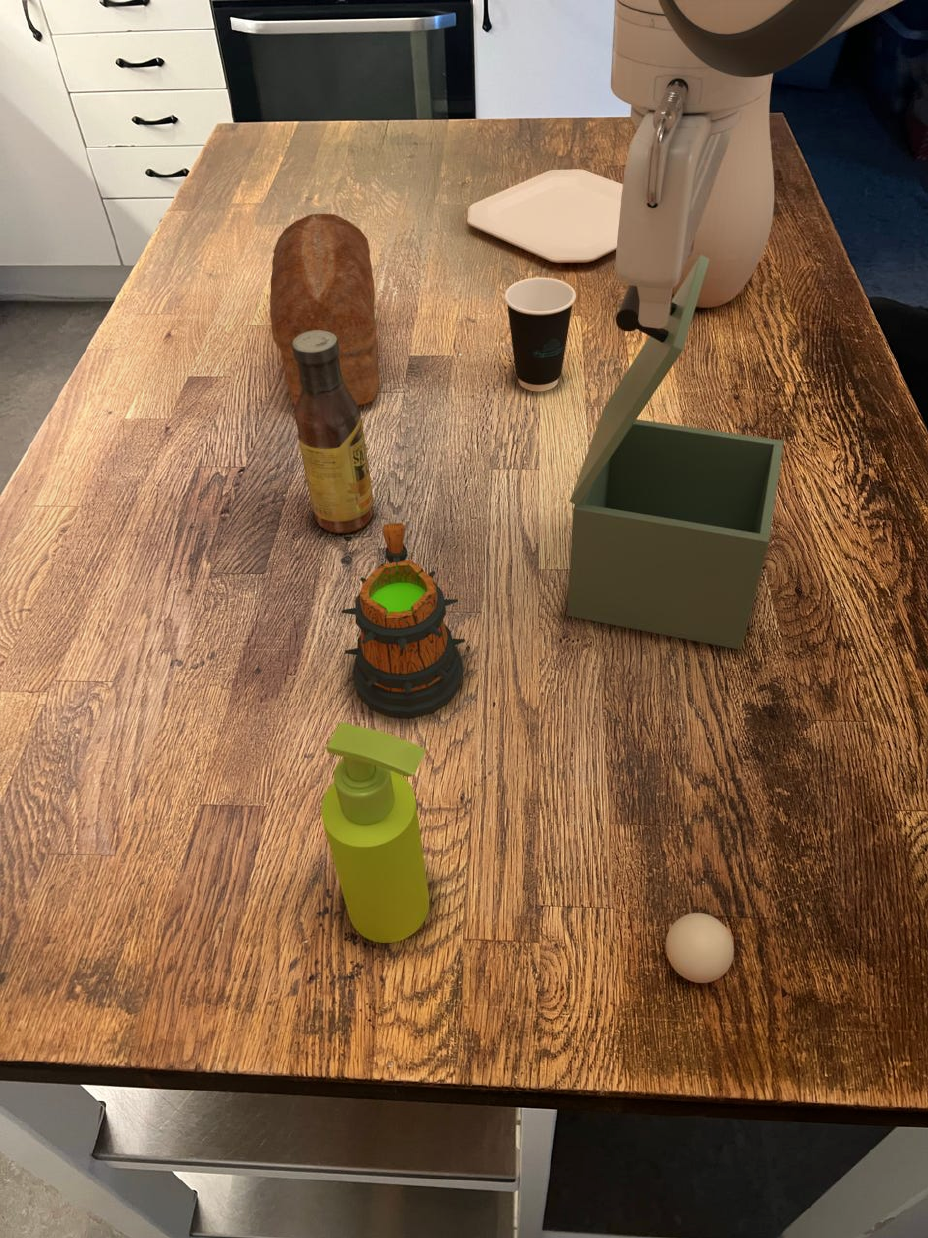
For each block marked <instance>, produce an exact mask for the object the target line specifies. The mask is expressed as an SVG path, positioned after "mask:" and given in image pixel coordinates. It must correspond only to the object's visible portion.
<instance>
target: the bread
mask: <svg viewBox="0 0 928 1238" xmlns="http://www.w3.org/2000/svg"><path fill="white" fill-rule="evenodd" d="M271 264H272V265H271V266H272V268H271V277H270V295H269V315H270V325H271V334H272V335H271V336H272V339H273V342H274V343H275V345H276V347H277V348H278V350H279V352H280V357H281V361H282V366H283V371H284V376H285V377H284V378H285V381H286V382H285V383H286V386H287V389H288V390H287V391H288V394H289V397H290V399H291V401H292V403H293V405H294V406H295V405H296V401H297V400H298V398H299V395H300V393H301V391H302V386H301V384H300V379H301V378H300V373H299V367H298V363H297V361H296V359H295V357H294V353H293V347H292V342H293V340H294V339H295V338H296V337H297V336H299V335H301V334H302V333H305V332H308V331H313V330H322V331H327V332H330V333H332V334H334V335H335V336H336V337H337V340H338V345H339V355H338V358H339V363H340V371H341V374H342V380H343V381H344V383H345V385H346V387H347V389H348V390H349V392H350V394H351V395H352V397H353V399H354V400H355V402H356V404H357V405H358V407H359V406H363V405H366V404H370V403H371V402H372V401H374V399H375V397H376V395H377V394H378V391H379V387H380V370H379V358H378V341H377V325H376V324H377V323H376V315H375V314H376V313H375V300H376V299H375V298H376V297H375V295H376V292H375V291H376V290H375V279H374V274H373V267H372V266H373V265H372V261H371V249H370V245H369V241H368V238H367V236H366V235H365V234H364V233H363V232H362V230H361V229H360V228H359V227H357V226H356V225H355V224H353V223H352V222H350V221H349V220H347V219H345V218H343V217H341V216H340V215H337V214H335V213H312V214H308V215H306V216H304V217H303V218H300V219H298V220H295V221H293V223H291V224H290V225H288V226H287V227H286V228H285V229H284V230H283V231H282V233H281V234H280V236H279V237H278V238H277V240H276V244H275V246H274V249H273V256H272V261H271Z"/></svg>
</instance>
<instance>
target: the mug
mask: <svg viewBox="0 0 928 1238" xmlns="http://www.w3.org/2000/svg"><path fill="white" fill-rule="evenodd" d="M382 534H383V535H382V536H383V538H384V541H385V544H386V549H385V550H384V554H385V559H386V560H387V562H385V563H381V564H380V565H379V566H378V567H377V568H376V569H375V570H374V571H373V572H372V573H371V574H370V575H369V576H368V577H367V578H365V577H362V576H361V577H360V579H359V581H360V582H361V583H362V585H361V590H360V591H359V593H358V595H357V596H356V597H355V599H354V606H355V607H350V608H345V609H341V614H346V615H354V617H355V620H354V621H355V624H356V625H357V627H358V628H359V630H360V635H359V636H358V637H357V640H356V641H357V647H356V648H355V647H354V648H351V649H345V650H344V654H345V655H352V656H356V657H355V660H354V665H353V668H352V673H351V674H352V678H353V683H354V687H355V690H356V693H357V697H359V699H360V700H361V701H362V702H363V703H364V704H365V705H366V706H367V707H368V708H369V709H370V710H372V711H374V712H377V713H379V714H381V715H383V716H387V717H388V718H398V719H399V718H400V719H401V718H402V719H414V718H418V717H422V716H426V715H430V714H434V713H435V712H436V711H438V710H439V709H441V708H442V707H443V708H444V706H445V705H447V704H449V703H451V701H452V700H453V699H454V697H455V695H456V694H457V693H458V691H459V690H460V688H461V687H462V683H463V674H464V662H463V659H462V656H461V654H460V652H459V649H458V647H457V645H460V644H461V645H462V644H463V643H466V639H465V638H453V635H452V630H451V629H450V628H449V627H448V626H447V625H446V624H445V617H446V615H447V608H446V607H448V606H450V605H453V604H457V603H459V599H458V598H448V599H447V598H445V595H444V592H443V590H442V589H441V588H440V587H439V586H438V584H437V582H435V581H434V577H435V575H436V571H435V570H432V571H431V572H429V573H427V572H426V571H425V570H424V569H423V568H422V567H421V566H419V564H416V563H415V562H414V561H412V560H411V559H407V558H408V549H407V547H406V546H405V544H404V543H405V542H404V541H405V536H406V535H405V534H406V527H405V525H404V523H403V522H392V523H385V524H383V526H382Z"/></svg>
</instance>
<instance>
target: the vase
mask: <svg viewBox="0 0 928 1238" xmlns="http://www.w3.org/2000/svg"><path fill="white" fill-rule="evenodd" d="M773 76H774V73H772V74H770V78H769V84H768V88H767V90H766V92H765V93H764V94H763V95H762V96H761V97H760V98H758V99H757V100H755V101H753V102H751V103H749V104H746V105H744V106H742V112H741V119H740V121H739V122H738V123H737V124H736V125H735V126H733V129H732V132H731V136H730V140H729V143H728V147H727V150H726V153H725V156H724V158H723V161H722V163H721V166H720V169H719V171H718V174H717V177H716V180H715V183H714V185H713V188H712V191H711V194H710V197H709V199H708V202H707V205H706V208H705V211H704V213H703V216H702V219H701V222H700V224H699V227H698V230H697V233H696V238H695V246H694V248H693V251H692V253H691V255H690V257H689V258H687V261H686V264H685V266H684V269H683V272H682V275H681V278H680V281H679V283H678V284H677V285H676V286H675V287H674V288H672V292H673V295H674V296H675V295H676V293H677V292H678V290H679V288H680V287H681V285H682V284H683V282H684V281H685V279H686V277H687V276H688V274H689V273H690V271H691V269H692V268H693V266H694V265H695V263H696V262H697V260H698V258H699V257H700V255H702V256H704V257H706V258H708V259H709V263H708V266H707V270H706V273H705V277H704V280H703V283H702V287H701V290H700V294H699V297H698V300H697V304H696V307H695V308H701V309H702V308H703V309H710V308H715V307H716V308H717V307H719V306H723V305H724V304H727V303H728V302H730V301H732V300H733V299H734V298H735V297H736V296H737V295H739V293H740V292H741V291H742V290H743V289H744V288H745V286H746V285H747V283H748V282H749V280H750V279H751V277H752V276H753V274H754V272H755V270H756V269H757V267H758V265H759V263H760V261H761V259H762V258H763V255H764V252H765V250H766V248H767V244H768V241H769V238H770V234H771V230H772V226H773V218H774V210H775V177H774V176H775V175H774V174H775V173H774V165H773V164H774V163H773V153H772V144H771V129H770V128H771V127H770V126H771V125H770V103H771V90H772V83H773Z"/></svg>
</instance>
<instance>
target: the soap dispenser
mask: <svg viewBox="0 0 928 1238" xmlns="http://www.w3.org/2000/svg"><path fill="white" fill-rule="evenodd" d="M325 748H326V753H327V754H330V755H335V756H339V757H342V758H341V759H340V760H339V761H338V762H337V764H336V766H335V768H334V771H333V782H332V783H331V784H330V785H329V786H328V788H327V790H326V791H325V793H324V796H323V798H322V801H321V805H320V806H321V807H320V815H321V816H320V817H321V820H322V824H323V827H324V832H325V835H326V839H327V842H328V847H329V849H330V853H331V856H332V860H333V864H334V867H335V871H336V876H337V878H338V881H339V885H340V890H341V893H342V897H343V899H344V903H345V904H344V905H345V907H346V911H347V915H348V918H349V920H350V921H349V922H350V923H351V925H352V927H353V928H354V930H355V931H356V932H357V933H358V934H360V936H362V937H363V938H365V939H367V940H369V941H371V942H375V943H380V944H392V943H397V942H401V941H403V940H405V939H407V938H410V937H411V936H413V935H414V934H415V933H416V932H417V931H418V930H420V928H421V927H422V926H423V924H424V922H425V920H427V916H428V915H429V910H430V903H431V902H430V894H429V893H430V892H429V885H428V878H427V871H426V864H425V857H424V851H423V850H424V849H423V844H422V837H421V830H420V829H421V828H420V821H419V815H418V807H417V800H416V795H415V792H414V789H413V787H412V785H411V783H410V782H409V780H407V779H406V778H411V777H413V776H414V775H415V774H416V772H417V770H418V768H419V766H420V764H421V762H422V760H423V757H424V755H425V753H426V749H425V748H424V747H422V746H420V745H418V744H415V743H413V742H410V741H408V740H406V739H403V738H401V737H399V736H396V735H392V734H390V733H386V732H383V731H380V730H376V729H372V728H369V727H365V726H359V725H356V724H351V723H346V722H341V721H340V722H339V724H338V725H337V727H336V729H335V731H334V732H333V735H332V736H331V738H330V739H329V741H328V744H327V745H326V747H325Z"/></svg>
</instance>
